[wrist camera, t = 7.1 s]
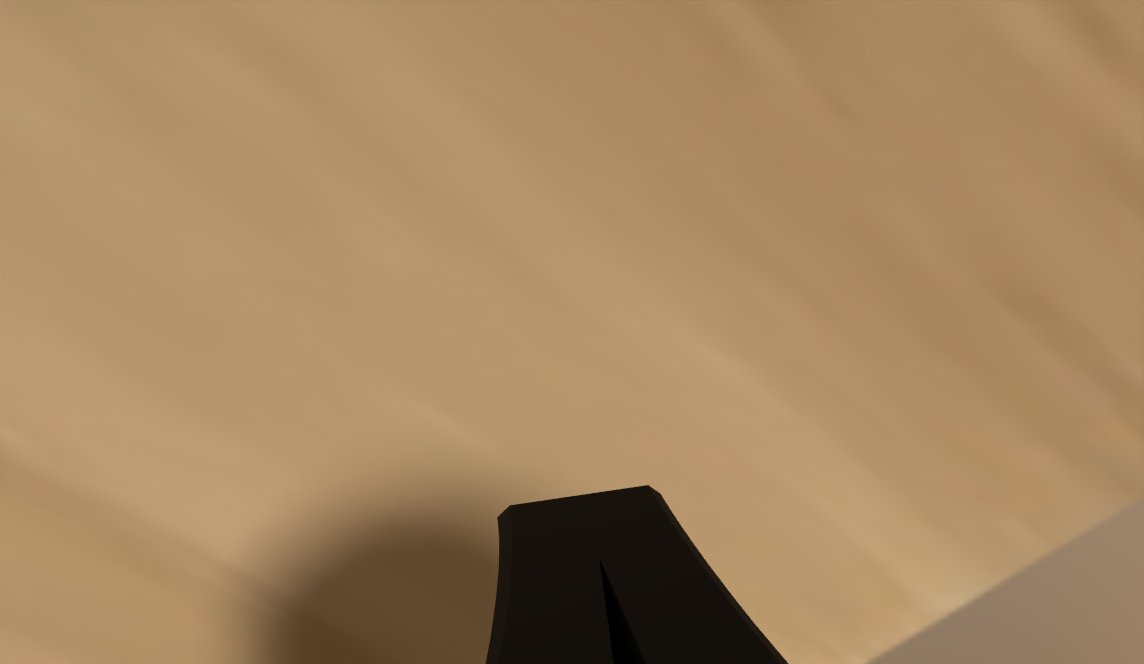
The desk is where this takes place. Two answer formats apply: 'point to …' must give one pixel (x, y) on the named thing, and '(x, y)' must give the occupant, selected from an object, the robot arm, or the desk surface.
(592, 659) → the robot arm
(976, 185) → the desk surface
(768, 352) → the desk surface
